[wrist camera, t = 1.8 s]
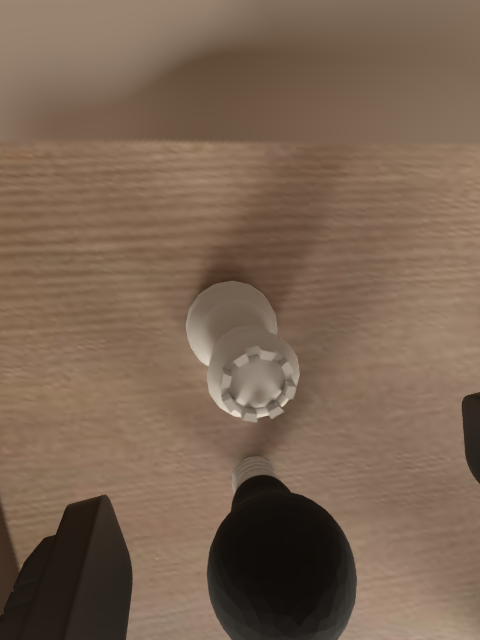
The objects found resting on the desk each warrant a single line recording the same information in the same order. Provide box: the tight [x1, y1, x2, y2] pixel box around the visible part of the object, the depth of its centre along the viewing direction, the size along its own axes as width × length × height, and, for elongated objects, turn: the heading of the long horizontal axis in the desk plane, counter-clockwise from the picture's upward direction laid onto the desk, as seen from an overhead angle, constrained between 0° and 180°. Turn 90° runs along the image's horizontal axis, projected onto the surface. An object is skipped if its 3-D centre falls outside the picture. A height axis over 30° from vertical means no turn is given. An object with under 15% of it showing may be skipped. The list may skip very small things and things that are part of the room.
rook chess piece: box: [185, 281, 300, 423], centre depth 17 cm, size 4×4×8 cm
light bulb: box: [207, 456, 357, 640], centre depth 19 cm, size 6×6×10 cm
